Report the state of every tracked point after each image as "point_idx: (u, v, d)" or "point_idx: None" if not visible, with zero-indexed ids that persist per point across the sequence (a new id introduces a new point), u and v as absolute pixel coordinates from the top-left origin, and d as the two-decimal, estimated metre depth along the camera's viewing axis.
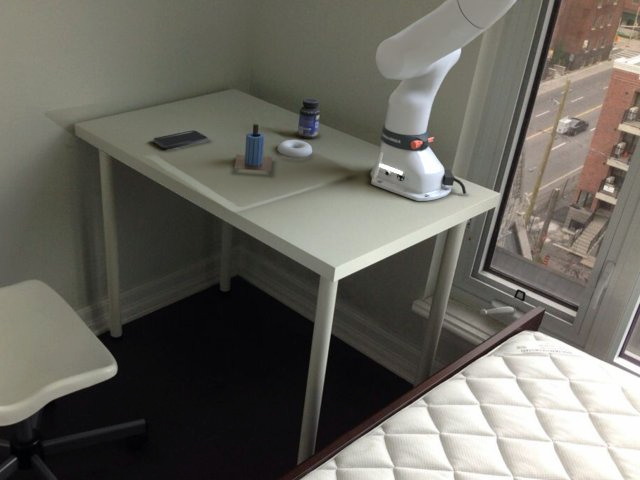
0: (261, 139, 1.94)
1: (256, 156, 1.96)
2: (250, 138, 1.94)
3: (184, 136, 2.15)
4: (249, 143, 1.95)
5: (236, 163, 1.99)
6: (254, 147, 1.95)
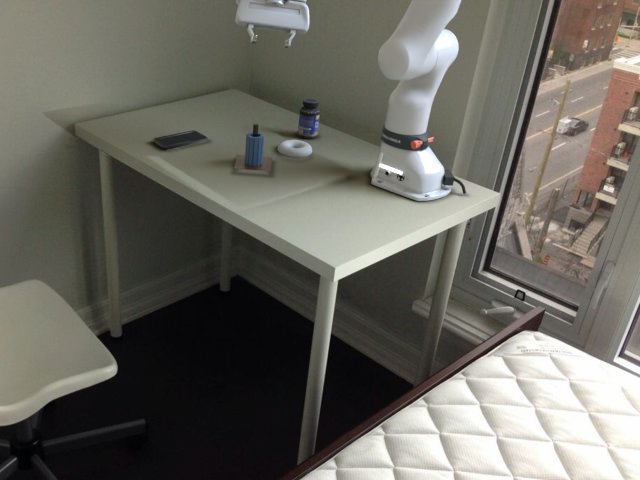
0: (261, 139, 1.94)
1: (256, 156, 1.96)
2: (250, 138, 1.94)
3: (184, 136, 2.15)
4: (249, 143, 1.95)
5: (236, 163, 1.99)
6: (254, 147, 1.95)
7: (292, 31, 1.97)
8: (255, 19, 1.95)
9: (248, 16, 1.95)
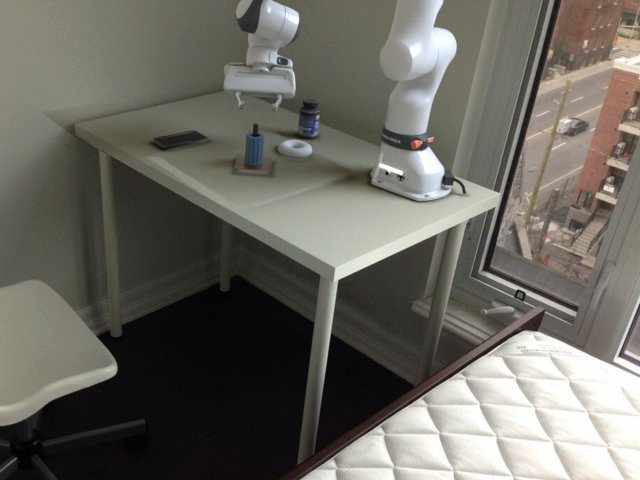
0: (261, 139, 1.94)
1: (256, 156, 1.96)
2: (250, 138, 1.94)
3: (184, 136, 2.15)
4: (249, 143, 1.95)
5: (236, 163, 1.99)
6: (254, 147, 1.95)
7: (278, 95, 2.01)
8: (241, 86, 2.01)
9: (234, 84, 2.01)
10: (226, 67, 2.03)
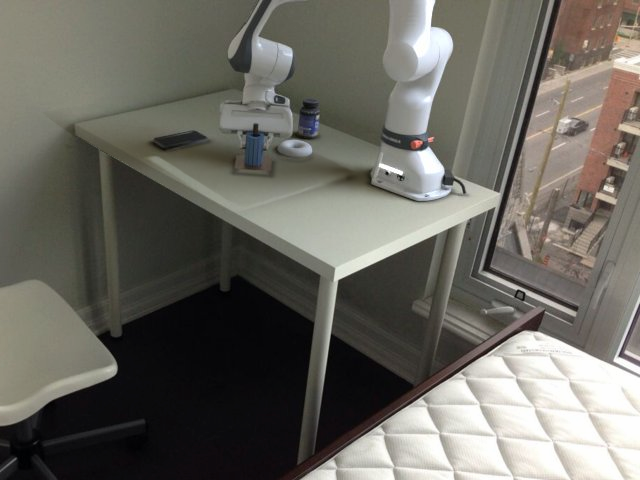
0: (261, 139, 1.94)
1: (256, 156, 1.96)
2: (250, 138, 1.94)
3: (184, 136, 2.15)
4: (249, 143, 1.95)
5: (236, 163, 1.99)
6: (254, 147, 1.95)
7: (270, 134, 1.97)
8: (237, 125, 1.97)
9: (231, 123, 1.97)
10: (222, 105, 1.99)
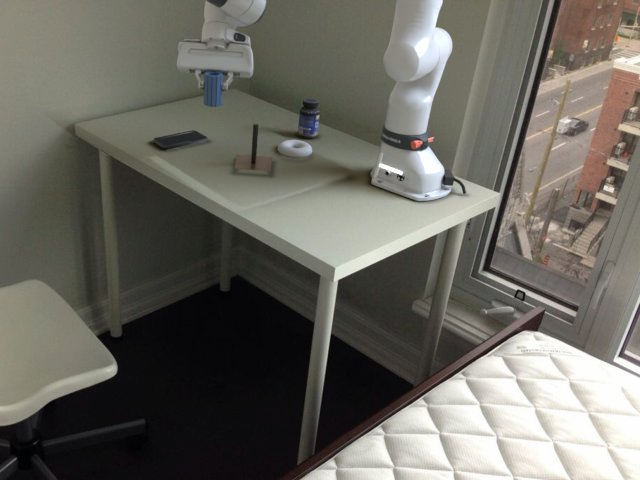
0: (219, 78, 1.86)
1: (215, 96, 1.88)
2: (208, 76, 1.85)
3: (184, 136, 2.15)
4: (207, 82, 1.86)
5: (236, 163, 1.99)
6: (212, 86, 1.87)
7: (229, 73, 1.88)
8: (195, 64, 1.88)
9: (188, 62, 1.88)
10: (180, 44, 1.91)
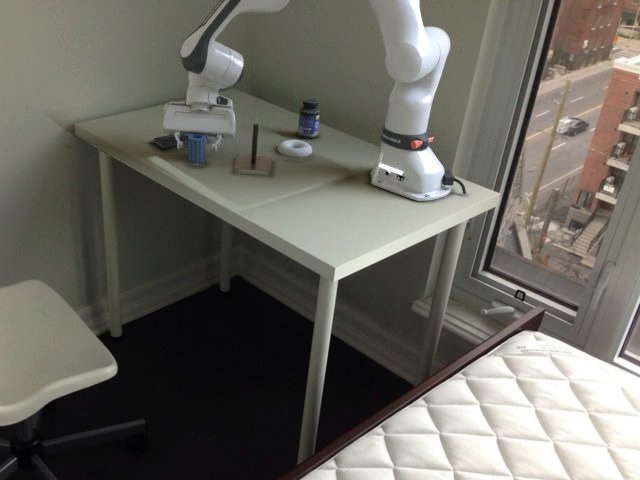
0: (203, 141, 1.95)
1: (198, 158, 1.98)
2: (192, 140, 1.95)
3: (184, 136, 2.15)
4: (191, 145, 1.96)
5: (236, 163, 1.99)
6: (196, 149, 1.96)
7: (218, 135, 1.98)
8: (180, 126, 1.97)
9: (173, 124, 1.98)
10: (166, 106, 2.00)
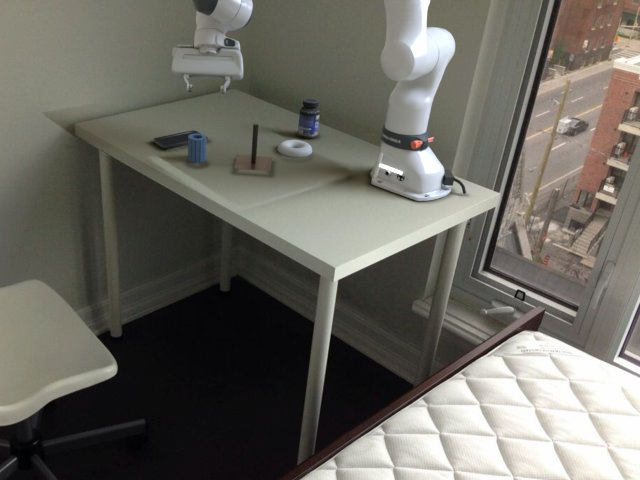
0: (203, 141, 1.95)
1: (198, 158, 1.98)
2: (192, 140, 1.95)
3: (184, 136, 2.15)
4: (191, 145, 1.96)
5: (236, 163, 1.99)
6: (196, 149, 1.96)
7: (226, 77, 2.02)
8: (189, 69, 2.01)
9: (182, 67, 2.02)
10: (174, 49, 2.04)
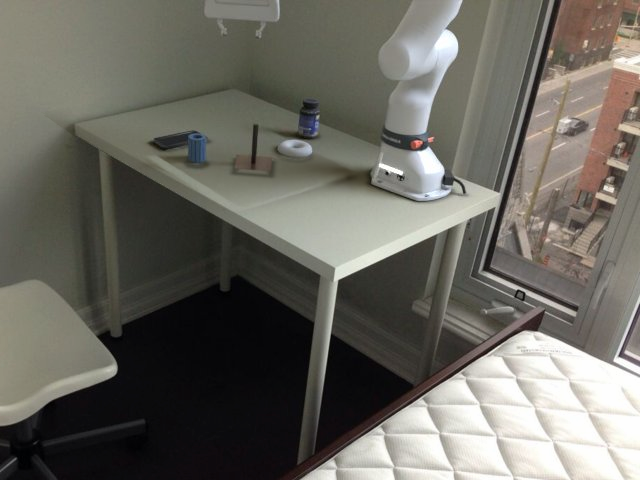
0: (203, 141, 1.95)
1: (198, 158, 1.98)
2: (192, 140, 1.95)
3: (184, 136, 2.15)
4: (191, 145, 1.96)
5: (236, 163, 1.99)
6: (196, 149, 1.96)
7: (262, 23, 1.94)
8: (222, 15, 1.93)
9: (216, 12, 1.92)
10: None
